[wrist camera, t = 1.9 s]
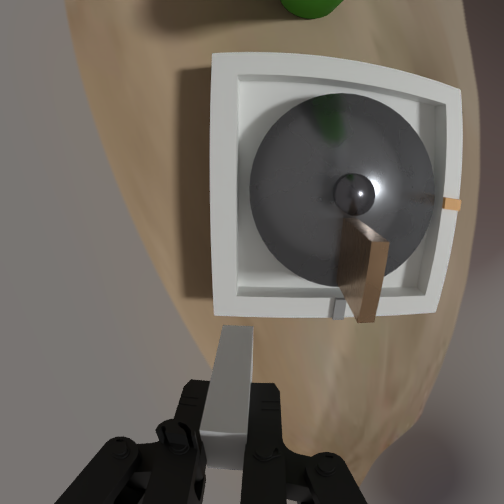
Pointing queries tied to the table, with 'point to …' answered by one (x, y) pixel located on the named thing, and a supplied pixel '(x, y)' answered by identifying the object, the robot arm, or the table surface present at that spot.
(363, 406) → the table surface
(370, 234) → the dial
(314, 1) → the cup
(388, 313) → the white square tray
